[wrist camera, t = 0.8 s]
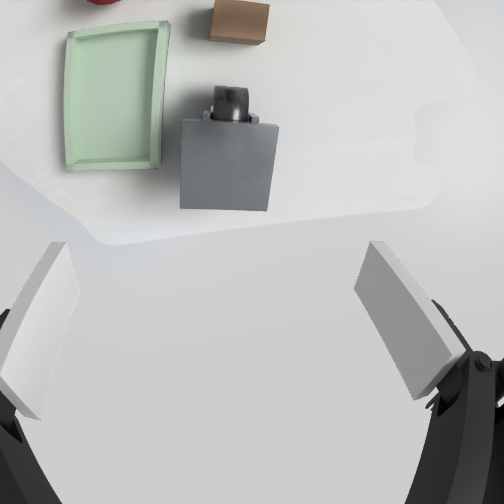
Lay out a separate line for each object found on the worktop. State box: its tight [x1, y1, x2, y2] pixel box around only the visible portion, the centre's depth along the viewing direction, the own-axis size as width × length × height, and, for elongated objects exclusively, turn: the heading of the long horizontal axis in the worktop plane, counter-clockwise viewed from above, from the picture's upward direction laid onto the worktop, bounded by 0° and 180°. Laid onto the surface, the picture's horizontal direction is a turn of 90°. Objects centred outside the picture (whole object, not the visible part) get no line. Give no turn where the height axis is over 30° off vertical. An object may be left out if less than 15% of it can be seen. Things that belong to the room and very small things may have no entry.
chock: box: [210, 0, 270, 45], centre depth 22 cm, size 4×5×4 cm
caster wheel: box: [180, 86, 279, 211], centre depth 27 cm, size 11×8×8 cm
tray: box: [64, 21, 171, 172], centre depth 25 cm, size 16×11×2 cm
